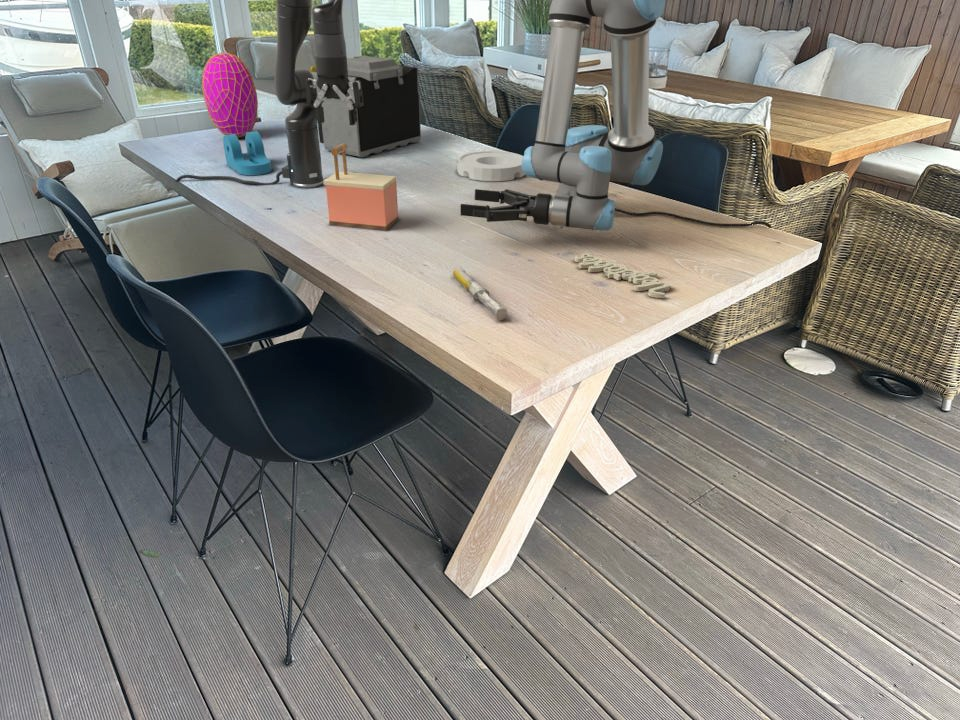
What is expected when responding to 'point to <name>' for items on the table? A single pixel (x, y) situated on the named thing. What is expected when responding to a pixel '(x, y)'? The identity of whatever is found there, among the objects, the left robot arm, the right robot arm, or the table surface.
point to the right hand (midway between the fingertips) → (468, 201)
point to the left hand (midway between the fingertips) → (337, 123)
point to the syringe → (479, 293)
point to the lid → (355, 175)
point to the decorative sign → (625, 274)
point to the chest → (362, 207)
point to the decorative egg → (230, 94)
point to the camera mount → (246, 154)
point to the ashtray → (490, 165)
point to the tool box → (374, 108)
